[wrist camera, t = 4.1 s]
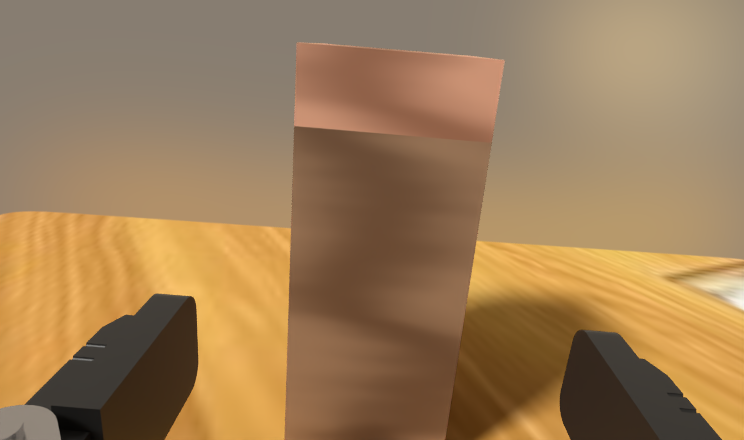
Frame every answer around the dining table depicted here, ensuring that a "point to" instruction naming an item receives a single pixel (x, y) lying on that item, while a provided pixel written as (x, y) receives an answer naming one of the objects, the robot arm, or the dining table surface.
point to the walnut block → (383, 236)
